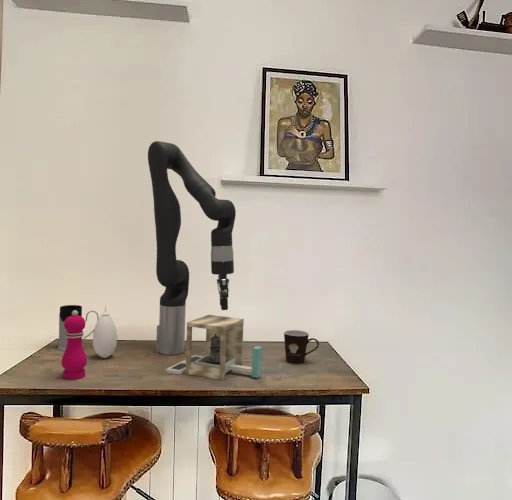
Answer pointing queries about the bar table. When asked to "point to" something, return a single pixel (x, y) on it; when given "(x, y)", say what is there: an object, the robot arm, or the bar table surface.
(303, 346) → the coffee mug
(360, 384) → the bar table surface
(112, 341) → the sauce bottle
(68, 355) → the pepper mill
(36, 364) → the bar table surface
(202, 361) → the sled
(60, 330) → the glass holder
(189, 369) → the tunnel
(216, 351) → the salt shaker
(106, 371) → the bar table surface
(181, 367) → the pit trap board
